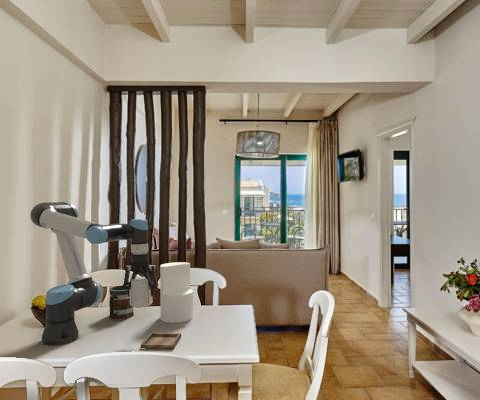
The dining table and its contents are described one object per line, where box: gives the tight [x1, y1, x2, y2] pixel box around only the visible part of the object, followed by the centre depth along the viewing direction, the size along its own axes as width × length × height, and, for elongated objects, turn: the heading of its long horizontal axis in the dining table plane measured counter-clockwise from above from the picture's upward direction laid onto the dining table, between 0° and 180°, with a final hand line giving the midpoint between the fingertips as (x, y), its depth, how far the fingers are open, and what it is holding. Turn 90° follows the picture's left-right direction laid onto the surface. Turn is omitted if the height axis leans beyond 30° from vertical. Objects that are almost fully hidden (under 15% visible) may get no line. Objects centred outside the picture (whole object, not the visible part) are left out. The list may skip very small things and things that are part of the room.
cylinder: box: [159, 261, 194, 324], centre depth 195 cm, size 17×17×28 cm
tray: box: [140, 332, 182, 351], centre depth 160 cm, size 14×14×2 cm
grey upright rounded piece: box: [130, 276, 151, 309], centre depth 165 cm, size 8×8×12 cm
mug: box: [108, 285, 135, 321], centre depth 195 cm, size 20×14×15 cm
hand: (141, 303), depth 165 cm, fingers closed on grey upright rounded piece, 8 cm apart
